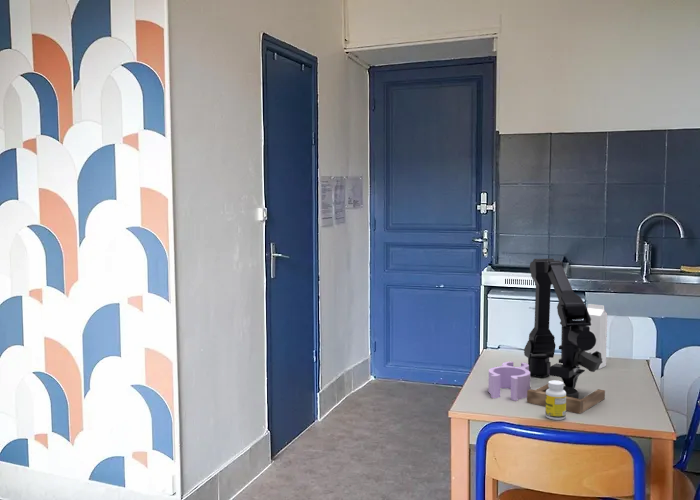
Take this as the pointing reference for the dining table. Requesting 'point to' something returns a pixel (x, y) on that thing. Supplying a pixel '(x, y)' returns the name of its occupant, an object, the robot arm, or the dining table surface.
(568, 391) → the smart speaker
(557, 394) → the supplement bottle
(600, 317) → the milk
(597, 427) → the dining table surface
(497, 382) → the clip
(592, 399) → the wooden tray
